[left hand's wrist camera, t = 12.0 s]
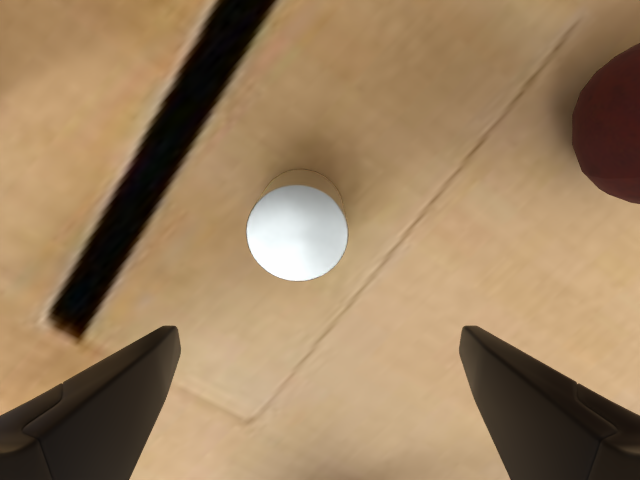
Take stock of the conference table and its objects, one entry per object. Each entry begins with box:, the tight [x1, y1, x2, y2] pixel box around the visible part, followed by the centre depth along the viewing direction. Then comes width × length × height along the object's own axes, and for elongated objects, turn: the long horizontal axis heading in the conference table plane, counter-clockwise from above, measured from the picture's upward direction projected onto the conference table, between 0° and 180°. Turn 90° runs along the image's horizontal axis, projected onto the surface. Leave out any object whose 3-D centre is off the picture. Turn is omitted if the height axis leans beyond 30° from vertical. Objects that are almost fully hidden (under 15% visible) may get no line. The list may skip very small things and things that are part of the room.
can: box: [246, 169, 348, 281], centre depth 20 cm, size 5×5×4 cm
